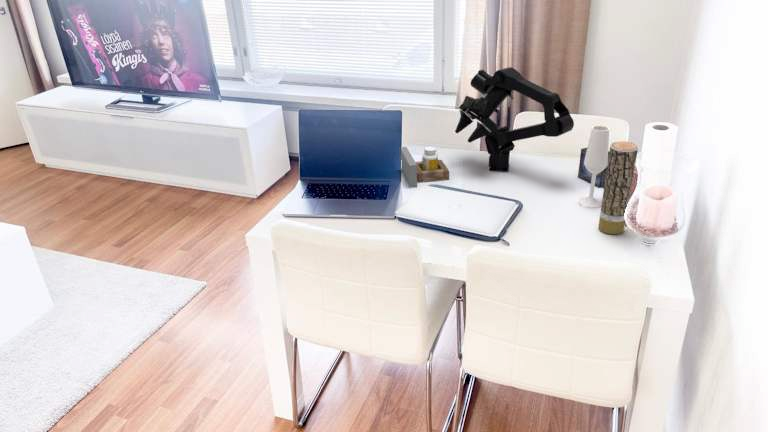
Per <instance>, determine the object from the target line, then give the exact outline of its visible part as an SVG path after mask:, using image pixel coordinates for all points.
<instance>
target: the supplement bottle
mask: <svg viewBox="0 0 768 432" xmlns="http://www.w3.org/2000/svg"><path fill="white" fill-rule="evenodd" d="M421 158H422V159H421V160H422V171H429V170H438V160H439V159H438V158H439V156H438V154H437V148H436V147H435V146H426V147H424V153H423V154H422V157H421Z"/></svg>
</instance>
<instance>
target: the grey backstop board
mask: <svg viewBox="0 0 768 432" xmlns="http://www.w3.org/2000/svg"><path fill="white" fill-rule="evenodd" d="M401 147H402V149H401V160H402V171H401V173H402V175H403V177H404V178H405V181H406V182H407V185H408V187H409V188H418V182H417V164H416V162H417V161H415V159H414V158H413V156H412V154H411V152H410V150H409V149H408V147H407V146H401Z"/></svg>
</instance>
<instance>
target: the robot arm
mask: <svg viewBox="0 0 768 432" xmlns="http://www.w3.org/2000/svg"><path fill="white" fill-rule="evenodd" d="M470 87H472V88H473V89H475V90H476V92H477V91H478V92H479V93H481V95H484V96H485V97H482V96H480V97H477V98H474V97H471V96H468V95H465V97H464V99H463V102H462V103H461V104H460V105H459V107H458V109H459V113H460V118H459V121H458V123H457V126H456V128H455V130H454V132H455V134H459V133H460V132H462V131H463V130H464V129H466V128H467V127H469V125H471V124H472V123H473V122H474V120H477V122H476V128H475V129H474V130H473V132H472V133H471V134H470V135H469V137H468V138H467V142H468V143H472V142H475V141H476V140H478V139H481V138H483V137H484V143H485V147H486V151H487V154H489V156H488V168H489V171H491V172H504V173H505V172H507V173H508V172H509V169H510V154H511V153H510V152H512V151H514V149H515V147H516V146H515V143H514V142H516V141H521V140H527V139H531V138H536V137H537V138H538V137H540V136H543V137H544V136H545V137H553V138H554V137H555V138H558V137H559V136H562V135H565V134H566V133H569V132H571V131H573V128H574V126H575V123H574V122H575V121H574V119H573V117H572V116H571V114H570V111H569V108H568V107H567V106H566V105H565V104H564V102H562V100H561V97H560V95H559V94H558V93H557V92H552V91H550V90H549V89H546V88H544V87H542V86H540V85H539V84H536V83H534V82H533V81H530V80H528V79H526V78H524V77H523V75H522V74H521V72H519V71H518V70H516V69H515V68H513V67H511V66H508V67H505V68H502V69H498V70H496V71H495V72H494V73H493V75H492V76H491V75H490V74H488V73H487V71H486V70H484V69H479V70H478V71H477V73H476V74H475V75H474V76H473V78H472V79H471V80H470ZM514 91H515V92H517V93H519V94H521V95H523V96H524V97H526V98H528V99H531V100H533V101H534V102H537V103H539V104H540V105H542V107H543V117H544V118H543V119H544V121H545V122H540V123H536V124H533V125H528V126H524V127H523V126H522V127H518V128H514V129H510V128H509V127H510V126H509V125H505V126H503V127H502V126H499V125H498V124H497V123H496V122H495V121H494V120H492V118H491V116H492V115H493V114H494V113H496V114H497V113H498V112H499V109H498V108H499V107H500V106H501V105H502V104H503V102H505V100H506V99H507V97H508V98H509V99H511V100H514ZM555 112H556V113H557V114H558V116H555Z"/></svg>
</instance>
